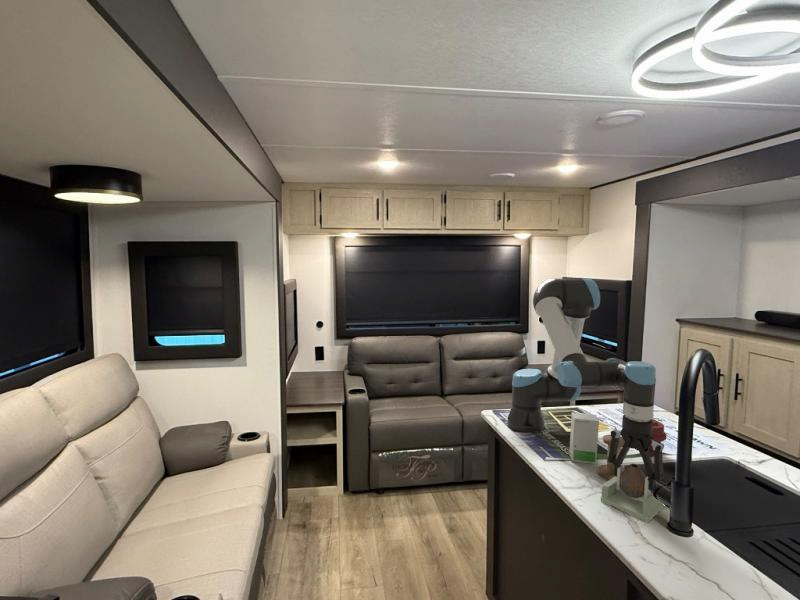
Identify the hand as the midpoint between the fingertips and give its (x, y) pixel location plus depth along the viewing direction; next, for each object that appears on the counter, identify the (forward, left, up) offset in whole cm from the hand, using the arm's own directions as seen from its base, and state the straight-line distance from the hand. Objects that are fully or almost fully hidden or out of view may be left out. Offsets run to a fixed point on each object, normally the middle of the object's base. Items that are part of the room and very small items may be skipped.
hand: (633, 493), depth 123 cm
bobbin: (-11, +11, -3) cm, 16 cm away
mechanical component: (-10, +36, -3) cm, 38 cm away
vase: (0, 0, 0) cm, 0 cm away
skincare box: (-23, +14, -3) cm, 27 cm away
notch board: (0, 0, -3) cm, 3 cm away
